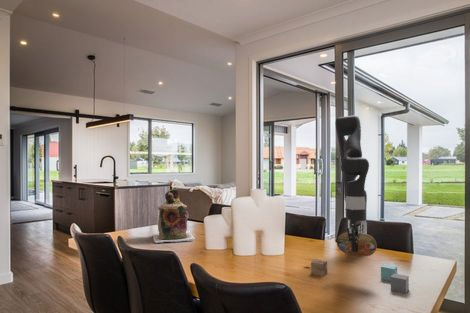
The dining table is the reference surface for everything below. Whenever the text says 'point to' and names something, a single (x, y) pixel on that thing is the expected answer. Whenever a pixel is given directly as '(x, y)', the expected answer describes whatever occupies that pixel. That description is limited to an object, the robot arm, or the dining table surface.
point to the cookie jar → (172, 220)
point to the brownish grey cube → (319, 267)
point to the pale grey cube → (399, 283)
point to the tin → (365, 244)
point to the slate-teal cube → (388, 271)
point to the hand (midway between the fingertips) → (355, 250)
